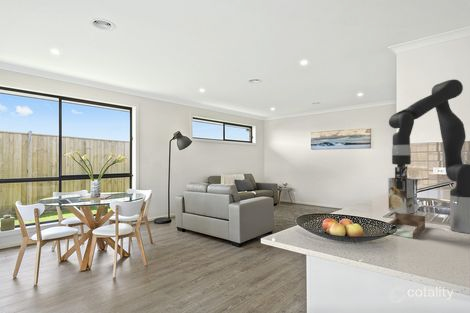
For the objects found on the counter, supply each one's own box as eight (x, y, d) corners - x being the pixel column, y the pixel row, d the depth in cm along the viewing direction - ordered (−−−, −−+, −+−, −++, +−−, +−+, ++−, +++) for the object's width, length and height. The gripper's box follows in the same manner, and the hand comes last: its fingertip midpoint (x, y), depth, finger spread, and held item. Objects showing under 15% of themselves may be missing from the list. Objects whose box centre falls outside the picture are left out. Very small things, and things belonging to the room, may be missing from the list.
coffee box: (415, 212, 119) (415, 178, 119) (407, 214, 117) (407, 179, 117) (395, 209, 128) (396, 177, 128) (387, 210, 125) (387, 177, 125)
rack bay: (425, 227, 133) (425, 215, 133) (416, 239, 113) (416, 225, 113) (395, 223, 142) (395, 212, 142) (382, 233, 122) (382, 220, 122)
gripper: (407, 154, 115) (407, 190, 114) (413, 154, 125) (413, 187, 125) (388, 154, 120) (388, 189, 120) (395, 154, 130) (395, 186, 130)
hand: (401, 188), depth 122 cm, fingers closed on coffee box, 8 cm apart
